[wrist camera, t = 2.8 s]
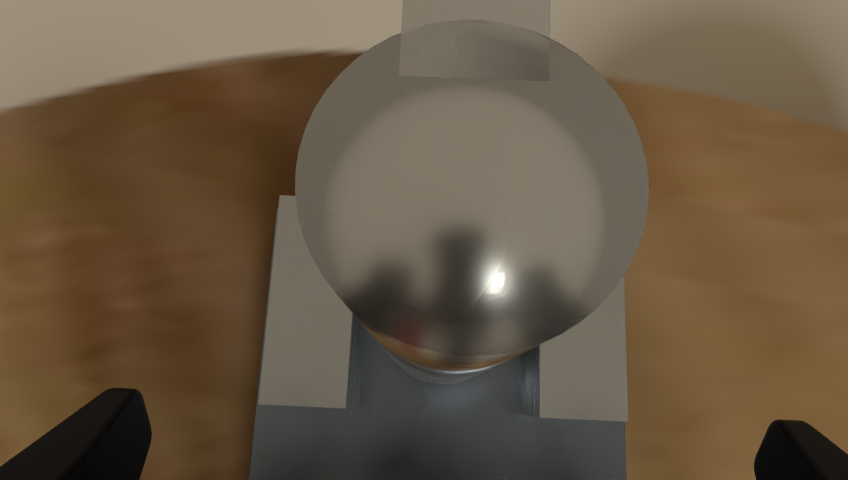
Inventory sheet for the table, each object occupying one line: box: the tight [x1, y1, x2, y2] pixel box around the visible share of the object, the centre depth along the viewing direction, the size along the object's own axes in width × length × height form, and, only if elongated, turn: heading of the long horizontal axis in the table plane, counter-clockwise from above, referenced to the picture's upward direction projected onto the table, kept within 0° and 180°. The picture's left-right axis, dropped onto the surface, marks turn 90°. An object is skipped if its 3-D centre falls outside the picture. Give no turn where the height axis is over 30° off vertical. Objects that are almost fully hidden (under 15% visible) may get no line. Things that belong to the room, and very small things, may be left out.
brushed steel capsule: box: [295, 0, 649, 385], centre depth 13 cm, size 6×4×12 cm, turn 177°
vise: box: [249, 195, 628, 480], centre depth 17 cm, size 12×10×5 cm
